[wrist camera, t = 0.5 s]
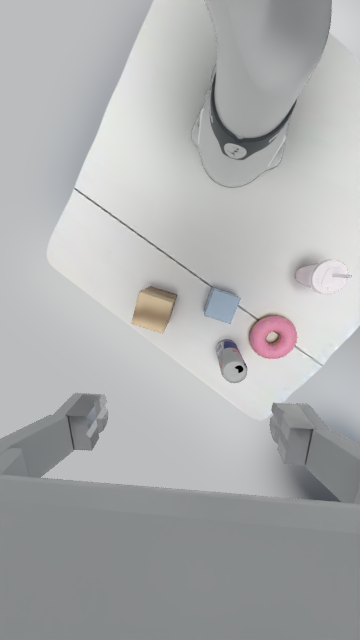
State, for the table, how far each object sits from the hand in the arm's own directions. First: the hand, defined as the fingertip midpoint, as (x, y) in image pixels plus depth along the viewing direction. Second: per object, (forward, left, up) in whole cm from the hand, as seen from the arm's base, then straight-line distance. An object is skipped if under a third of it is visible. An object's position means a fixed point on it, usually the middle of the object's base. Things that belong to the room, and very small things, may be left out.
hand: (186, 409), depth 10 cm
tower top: (+5, -8, -36) cm, 38 cm away
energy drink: (+11, +12, -42) cm, 45 cm away
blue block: (0, +6, -42) cm, 42 cm away
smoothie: (-12, +22, -42) cm, 49 cm away
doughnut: (+4, +21, -42) cm, 47 cm away
